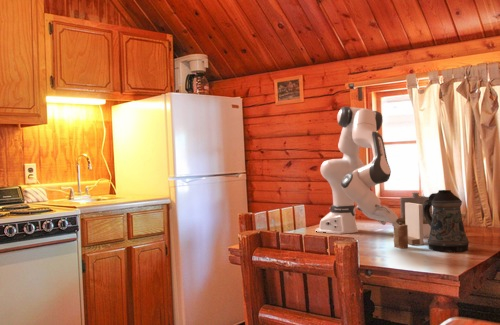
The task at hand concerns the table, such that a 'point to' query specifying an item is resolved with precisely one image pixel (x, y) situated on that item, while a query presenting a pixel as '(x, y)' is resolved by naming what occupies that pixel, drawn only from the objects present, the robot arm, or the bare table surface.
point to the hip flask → (414, 199)
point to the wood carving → (424, 224)
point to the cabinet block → (401, 236)
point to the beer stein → (445, 223)
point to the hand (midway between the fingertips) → (390, 225)
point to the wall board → (414, 223)
